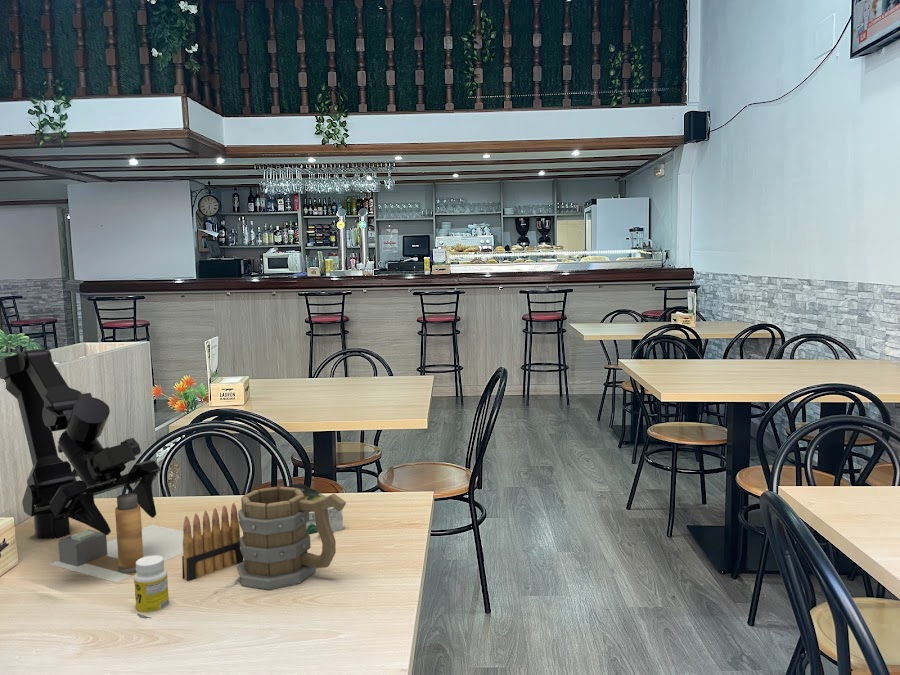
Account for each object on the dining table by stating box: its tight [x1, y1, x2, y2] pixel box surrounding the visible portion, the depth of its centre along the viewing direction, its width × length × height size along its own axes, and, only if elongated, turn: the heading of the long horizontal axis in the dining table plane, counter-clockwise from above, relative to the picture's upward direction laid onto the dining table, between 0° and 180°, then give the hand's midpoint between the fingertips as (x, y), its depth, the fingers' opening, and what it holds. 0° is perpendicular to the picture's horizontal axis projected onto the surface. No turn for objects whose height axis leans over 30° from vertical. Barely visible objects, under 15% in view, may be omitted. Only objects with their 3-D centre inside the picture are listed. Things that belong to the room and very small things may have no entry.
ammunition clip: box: [181, 502, 244, 582], centre depth 124 cm, size 11×2×12 cm, turn 137°
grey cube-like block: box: [57, 529, 108, 567], centre depth 131 cm, size 5×6×5 cm
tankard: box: [236, 486, 347, 591], centre depth 124 cm, size 20×13×15 cm, turn 69°
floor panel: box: [49, 524, 193, 583], centre depth 134 cm, size 18×22×1 cm
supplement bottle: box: [133, 555, 170, 620], centre depth 112 cm, size 5×5×8 cm
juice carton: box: [285, 483, 344, 535], centre depth 151 cm, size 20×10×6 cm, turn 37°
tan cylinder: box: [114, 492, 143, 574], centre depth 125 cm, size 4×4×13 cm
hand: (132, 524), depth 125 cm, fingers open, 9 cm apart
